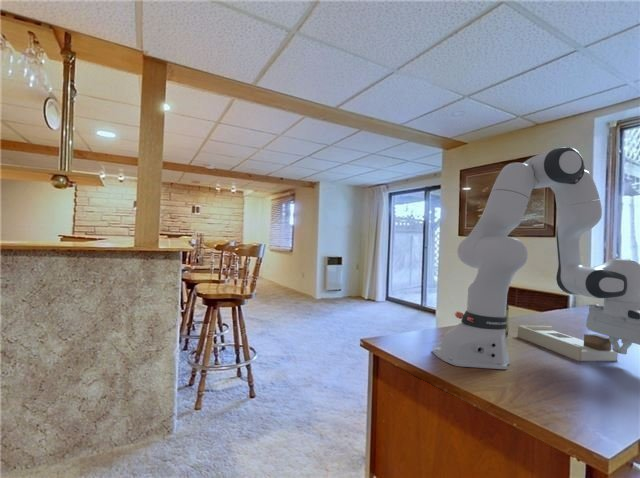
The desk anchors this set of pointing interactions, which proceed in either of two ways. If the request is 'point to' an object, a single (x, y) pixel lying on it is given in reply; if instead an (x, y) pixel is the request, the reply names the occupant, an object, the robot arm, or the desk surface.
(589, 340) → the walnut block
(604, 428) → the desk surface
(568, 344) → the board
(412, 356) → the desk surface
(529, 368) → the desk surface
